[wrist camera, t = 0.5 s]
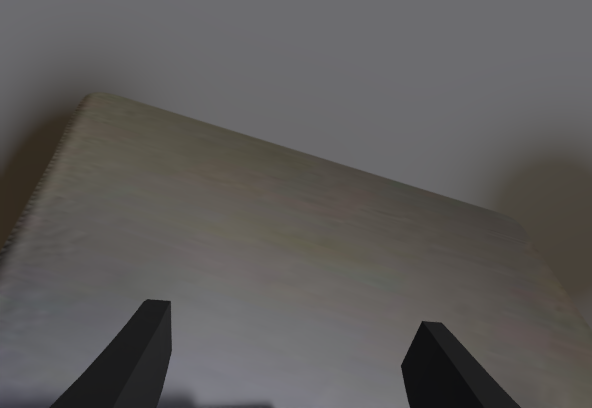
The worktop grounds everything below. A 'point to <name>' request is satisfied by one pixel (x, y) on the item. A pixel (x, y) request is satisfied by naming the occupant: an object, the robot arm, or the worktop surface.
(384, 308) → the worktop surface
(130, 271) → the worktop surface
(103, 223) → the worktop surface
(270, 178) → the worktop surface
